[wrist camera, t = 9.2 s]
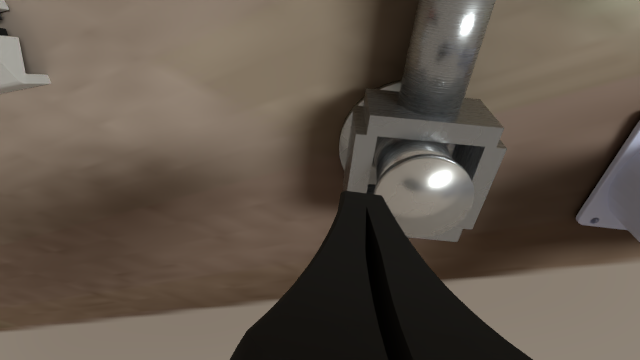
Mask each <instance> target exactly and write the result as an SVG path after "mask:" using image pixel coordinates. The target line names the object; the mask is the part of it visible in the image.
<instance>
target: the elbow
mask: <svg viewBox="0 0 640 360" xmlns="http://www.w3.org/2000/svg"><path fill="white" fill-rule="evenodd" d="M494 4H495V0H419V3H418V7H417V12H416V17H415V21H414V26H413V31H412V35H411V40H410V45H409V49H408V54H407V59H406V63H405V68H404V73H403V77H402V82H401V87H400V91H389V90H379V89H369V88H366V91H365V98H364V104H363V106H356V105H354V108H353V115H352V122H351V129H350V136H349V143H348V150H347V157H346V164H345V171H344V178H343V191H352V192H360V193H367V194H374V189H375V186H376V185H375V184H368V183H369V178H370V172H371V167H372V162H373V157H374V152H375V146H376V141H377V136H380V137H390V138H400V139H411V140H421V141H431V142H442V143H452V144H455V147H454V150H453V153H452V158H453V160H455V161H456V162H458V163H459V164H460V165H461V166H462V167H463V168H464V169H465V170H466V172H467V173H468V175H469V177H470V179H471V181H472V183H473V186H474V192H475V193H474V202H473V205H472V208H471V209H470V211H469V213H468V214H467V216H466V217H465V218H464V219H463V220H462V221H461V222H460V223H459V224H458V225H456V226H455V227H453V228H452V229H450V230H448V231H446V232H444V233H441V234H438V235H435V236H430V237H421V238H420V239H430V240H441V241H451V242H458V240H459V237H460V235H461V232H462V230H463V229H473V227H474V224H475V222H476V220H477V217H478V215H479V213H480V210H481V208H482V206H483V203H484V201H485V199H486V196H487V194H488V192H489V189H490V187H491V185H492V182H493V180H494V178H495V175H496V173H497V171H498V168H499V166H500V164H501V161H502V159H503V157H504V154H505V152H506V150H507V148H506V147H505V146H504V144H503V143H502V142H501V141H500V137H501V135H502V132H503V130H504V127H503V126H502V125H501V124H500V123H499V121H498V120H497V119H496V118H495V117H494V115H493V114H492V113H491V112H490V111H489V109H488V108H487V107H486V106H485V105H484V104H483V102H482V101H481V100H480V99H471V98H464V96H465V93H466V90H467V87H468V84H469V81H470V78H471V75H472V72H473V69H474V65H475V62H476V59H477V56H478V53H479V50H480V47H481V44H482V41H483V38H484V35H485V31H486V28H487V25H488V22H489V19H490V16H491V13H492V10H493V7H494ZM410 238H416V237H410Z"/></svg>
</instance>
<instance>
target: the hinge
mask: <svg viewBox="0 0 640 360" xmlns="http://www.w3.org/2000/svg"><path fill="white" fill-rule="evenodd" d="M7 10H9V8H8V6H7V4H6V2H5V1H4V0H0V12H3V11H7ZM1 19H2V17H1V14H0V20H1ZM47 84H51V81H50V79H49V77H48V75H47V74H26V73H25V68H24V63H23V58H22V52H21V47H20V42H19V37H11V36H8V34H7V31H6V29H3V28H0V94H2V93H7V92H12V91H17V90H22V89H27V88H32V87H37V86H42V85H47Z"/></svg>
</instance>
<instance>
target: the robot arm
mask: <svg viewBox="0 0 640 360" xmlns="http://www.w3.org/2000/svg"><path fill="white" fill-rule="evenodd" d="M593 218H594V219H593ZM591 219H592V220H591ZM576 220H577V221H578V223H579V224H581V225H586V226H595V227H604V228H613V229H621V230H628V231H629V232H630V233H631V234H632V235H633V236H634V237H635V238H636V239H637V240H638V241H639V242H640V120H639V122H638V123H637V125H636V126H635V128H634V129H633V131H632V132H631V134H630V135H629V137H628V138H627V140H626V141H625V143H624V144H623V146H622V147H621V149H620V150H619V152H618V154H617V155H616V157H615V158H614V160H613V161H612V163H611V164H610V166H609V167H608V169H607V170H606V172H605V173H604V175H603V176H602V178H601V179H600V181H599V182H598V184H597V185H596V187H595V188H594V190H593V191H592V193H591V194H590V196H589V197H588V199H587V200H586V202H585V203H584V205H583V206H582V208H581V210H580V211H579V213H578V214H577V216H576ZM230 360H533V359H531V358H530V357H528V356H527V355H526V354H524V353H523V352H522V351H520V350H519V349H517V348H516V347H515V346H513V345H512V344H511V343H509V342H508V341H507V340H505V339H504V338H503V337H501V336H500V335H499V334H498V333H497V332H495V331H494V330H493V329H492V328H490V327H489V326H488V325H487V324H486V323H485V322H483V321H482V320H481V319H480V318H479V317H478V316H477V315H475V314H474V313H473V312H472V311H471V310H470V309H469V308H468V307H467V306H466V305H465V304H464V303H463V302H461V301H460V300H459V299H458V298H457V297H456V296H455V295H454V294H453V293H452V292H451V291H450V290H449V289H448V288H447V287H446V286H445V284H444V283H443V282H442V281H441V280H440V279H439V278H438V277H437V276H436V274H435V273H434V272H433V271H432V270H431V269H430V268H429V266H428V265H427V264H426V263H425V261H424V260H423V259H422V257H421V256H420V255H419V253H418V252H417V251H416V249H415V248H414V246H413V245H412V244H411V242H410V241H409V239H408V238H407V236H406V235H405V233H404V232H403V230H402V229H401V227H400V226H399V224H398V222H397V221H396V219H395V217H394V216H393V214H392V212H391V210H390V209H389V207H388V205H387V203H386V202H385V200H384V198H383V197H382V195H375V194H367V193H360V192H352V191H343V192H342V193H341V196H340V201H339V206H338V212H337V215H336V217H335V219H334V222H333V224H332V226H331V228H330V230H329V232H328V234H327V236H326V238H325V240H324V241H323V243H322V245H321V247H320V248H319V250H318V252H317V253H316V255H315V256H314V258H313V259H312V261H311V262H310V264H309V265H308V266H307V268H306V269H305V270H304V272H303V273H302V274H301V276H300V277H299V278H298V279H297V281H296V282H295V283H294V284H293V286H292V287H291V288H290V289H289V290H288V291H287V292H286V293H285V294H284V295H283V297H282V298H281V299H280V300H279V301H278V302H277V303H276V304H275V305H274V306H273V307H272V308H271V309H270V310H269V311H268V312H267V313H266V314H265V315H264V316H263V317H262V318H261V319H259V320H258V321H257V322H256V323H255V324H254V325H253V326H252V327H251V328H249V329H248V330H247V331H246V333H245V335H244V336H243V338H242V339H241V341H240V343H239V344H238V346H237V348H236V349H235V351H234V353H233V355H232V357H231V358H230Z"/></svg>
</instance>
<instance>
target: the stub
mask: <svg viewBox="0 0 640 360" xmlns="http://www.w3.org/2000/svg"><path fill="white" fill-rule="evenodd" d="M401 82H402V80H401V81H396V82H392V83H389V84H386V85H384V86H382V87H379V88H377V89H379V90H389V91H400V87H401ZM364 98H365V97H364ZM364 98H363V99H361V100H360V101H359V102H358V103H357V104H356V106H363V104H364ZM352 115H353V109H352V110H351V112H350V113H349V114H348V116H347V118H346V120H345V122H344V124H343V127H342V129H341V134H340V140H339V154H340V160H341V164H342V166H343V169H344V171H345V164H346V157H347V150H348V143H349V136H350V129H351V122H352ZM454 147H455V144H452V143H442V142H431V141H421V140H411V139H400V138H390V137H380V136H377V141H376V146H375V152H374V157H373V162H372V167H371V172H370V178H369V183H368V184H375V185H376V186H375V189H374V194H375V195H382V197H383V198H384V200H385V202H386V203H387V205H388V207H389V209H390V210H391V212H392V214H393V216H394V217H395V219H396V221H397V222H398V224H399V226H400V227H401V229H402V230H403V232H404V233H405V235H406V236H407V237H416V238H421V237H430V236H435V235H438V234H441V233H444V232H446V231H448V230H450V229H452V228H453V227H455V226H456V225H458V224H459V223H460V222H461V221H462V220H463V219H464V218H465V217H466V216H467V214H468V213H469V211H470V209H471V208H472V205H473V202H474V193H475V192H474V186H473V183H472V181H471V179H470V177H469V175H468V173H467V172H466V170H465V169H464V168H463V167H462V166H461V165H460V164H459V163H458V162H456V161H455V160H453V158H452V153H453V150H454Z"/></svg>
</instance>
